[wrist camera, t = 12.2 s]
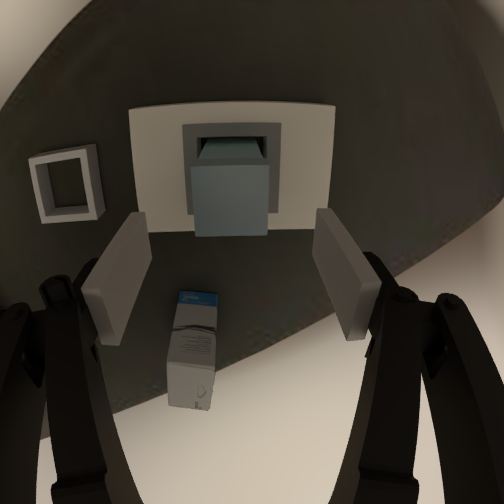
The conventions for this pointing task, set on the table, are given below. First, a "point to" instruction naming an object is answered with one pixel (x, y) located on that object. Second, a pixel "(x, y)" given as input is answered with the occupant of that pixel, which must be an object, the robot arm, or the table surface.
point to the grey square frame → (90, 182)
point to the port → (226, 125)
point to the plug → (230, 188)
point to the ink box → (192, 351)
